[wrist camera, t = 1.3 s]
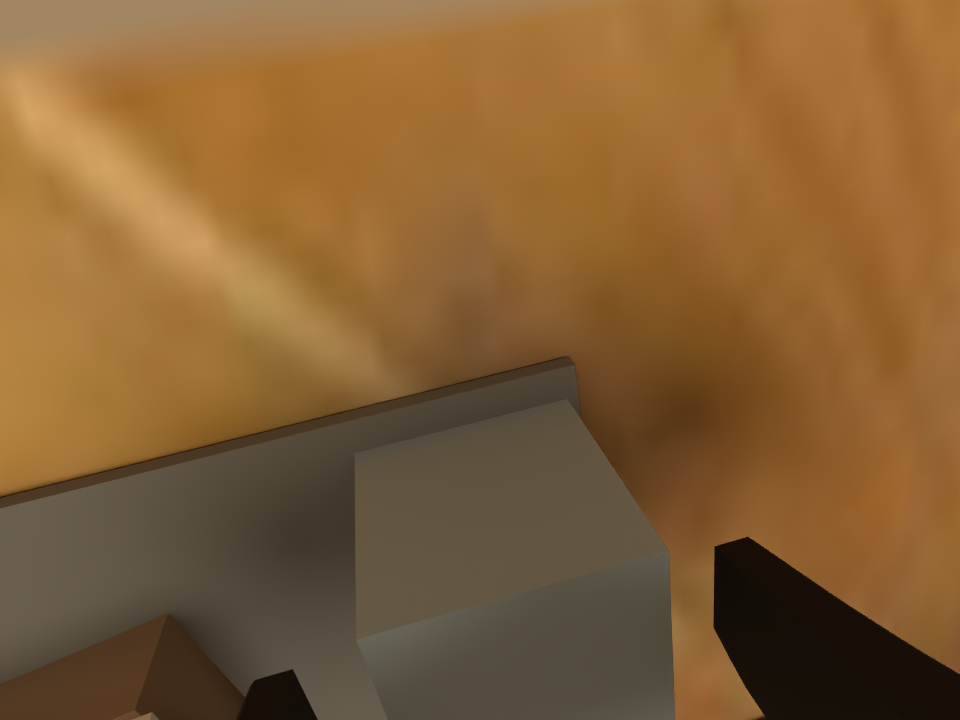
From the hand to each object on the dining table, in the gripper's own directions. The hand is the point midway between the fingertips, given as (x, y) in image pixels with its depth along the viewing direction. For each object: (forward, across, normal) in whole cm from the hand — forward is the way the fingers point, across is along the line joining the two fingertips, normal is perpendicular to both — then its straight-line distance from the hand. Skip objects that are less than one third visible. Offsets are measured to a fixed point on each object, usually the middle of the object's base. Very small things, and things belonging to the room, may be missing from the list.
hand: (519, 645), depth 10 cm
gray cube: (+4, 0, 0) cm, 4 cm away
